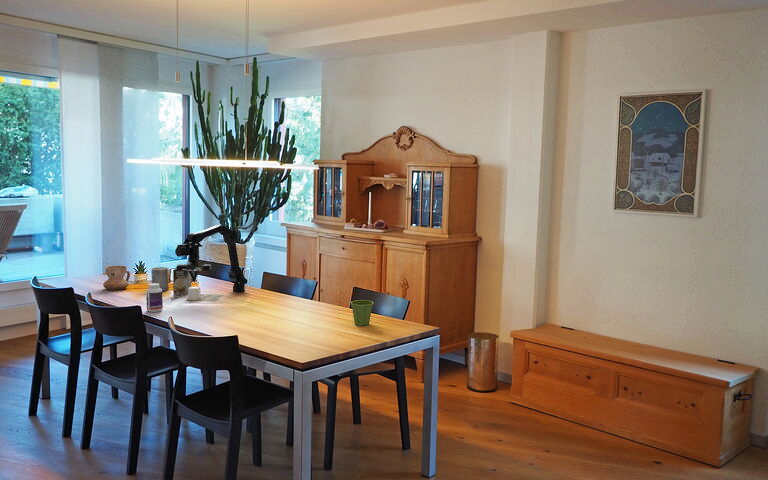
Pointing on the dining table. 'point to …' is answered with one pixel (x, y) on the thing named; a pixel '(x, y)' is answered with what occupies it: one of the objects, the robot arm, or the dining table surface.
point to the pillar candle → (160, 277)
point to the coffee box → (181, 282)
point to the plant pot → (361, 311)
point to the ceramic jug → (116, 277)
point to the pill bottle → (154, 298)
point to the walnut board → (208, 297)
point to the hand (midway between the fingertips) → (194, 282)
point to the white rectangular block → (194, 293)
